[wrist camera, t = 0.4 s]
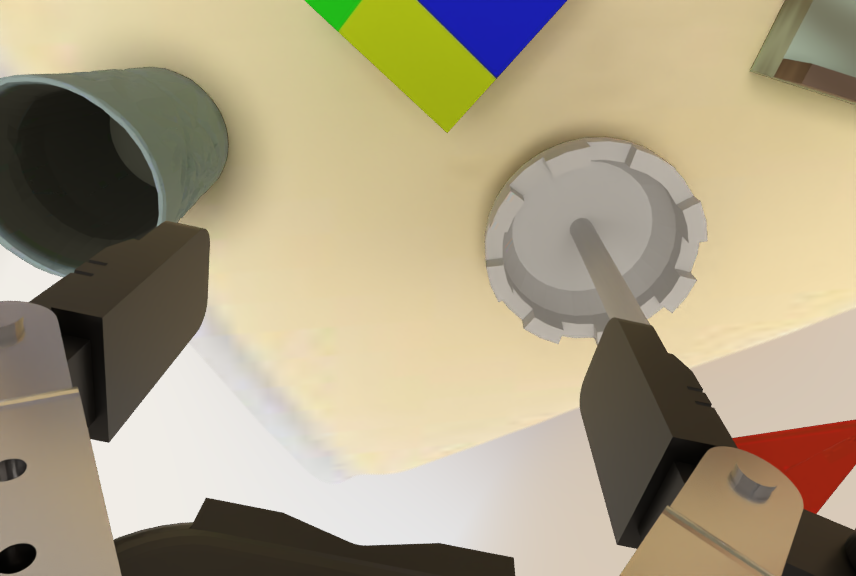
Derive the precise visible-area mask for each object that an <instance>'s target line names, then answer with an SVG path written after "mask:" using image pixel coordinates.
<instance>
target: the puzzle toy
mask: <svg viewBox="0 0 856 576" xmlns="http://www.w3.org/2000/svg"><path fill="white" fill-rule="evenodd" d="M305 1H306V2H307V3H308V4H309V5H310V6H311V7H312V8H313V9H314V10H315V11H316V12H317V13H319V14H320V15H321V16H322V17H323V18H324V19H325V20H326V21H327V22H328V23H329V24H330V25H331V26H333V27H334V28H335V29H336V30H337V31H338V32H339V33H340V34H341V35H342V36H343V37H344V38H345V39H347V40H348V41H349V42H350V43H351V44H352V45H353V46H354V47H355V48H356V49H357V50H358V51H359V52H361V53H362V54H363V55H364V56H365V57H366V58H367V59H368V60H369V61H370V62H371V63H372V64H373V65H374V66H376V67H377V68H378V69H379V70H380V71H381V72H382V73H383V74H384V75H385V76H386V77H387V78H388V79H390V80H391V81H392V82H393V83H394V84H395V85H396V86H397V87H398V88H399V89H400V90H401V91H402V92H404V93H405V94H406V95H407V96H408V97H409V98H410V99H411V100H412V101H413V102H414V103H415V104H416V105H417V106H419V107H420V108H421V109H422V110H423V111H424V112H425V113H426V114H427V115H428V116H429V117H430V118H431V119H433V120H434V121H435V122H436V123H437V124H438V125H439V126H440V127H441V128H442V129H443V130H444V131H445V132H447V133H448V132H449V131H450V129H451V128H452V127H453V126H454V125H455V124H456V123H457V122H458V121H459V119H460V118H461V117H462V116H463V115H464V114H465V113H466V112H467V111H468V110H469V108H470V107H471V106H472V105H473V104H474V103H475V102H476V101H477V100H478V98H479V97H480V96H481V95H482V94H483V93H484V92H485V91H486V90H487V89H488V87H489V86H490V85H491V84H492V83H493V82H494V81H495V80H496V79H497V77H498V76H499V75H500V74H501V73H502V72H503V71H504V70H505V69H506V68H507V66H508V65H509V64H510V63H511V62H512V61H513V60H514V59H515V58H516V56H517V55H518V54H519V53H520V52H521V51H522V50H523V49H524V48H525V47H526V45H527V44H528V43H529V42H530V41H531V40H532V39H533V38H534V37H535V35H536V34H537V33H538V32H539V31H540V30H541V29H542V28H543V27H544V26H545V24H546V23H547V22H548V21H549V20H550V19H551V18H552V17H553V16H554V15H555V13H556V12H557V11H558V10H559V9H560V8H561V7H562V6H563V5H564V3H565V2H566V1H567V0H305Z"/></svg>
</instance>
